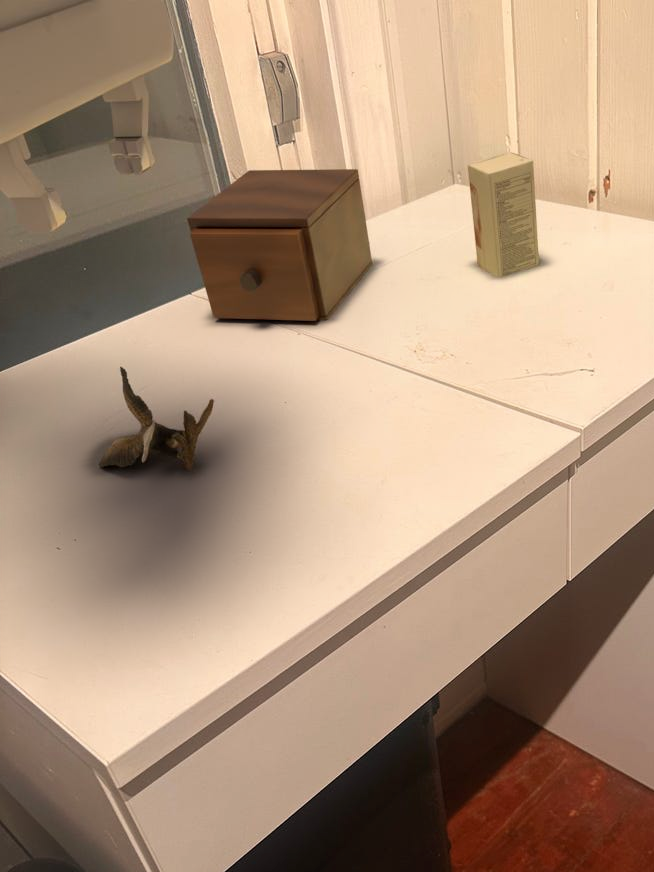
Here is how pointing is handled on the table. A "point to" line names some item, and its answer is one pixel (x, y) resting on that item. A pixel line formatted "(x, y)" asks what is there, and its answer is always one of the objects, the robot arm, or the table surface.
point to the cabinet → (303, 221)
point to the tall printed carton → (504, 213)
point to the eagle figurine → (154, 434)
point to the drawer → (256, 272)
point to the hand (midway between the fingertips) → (95, 198)
